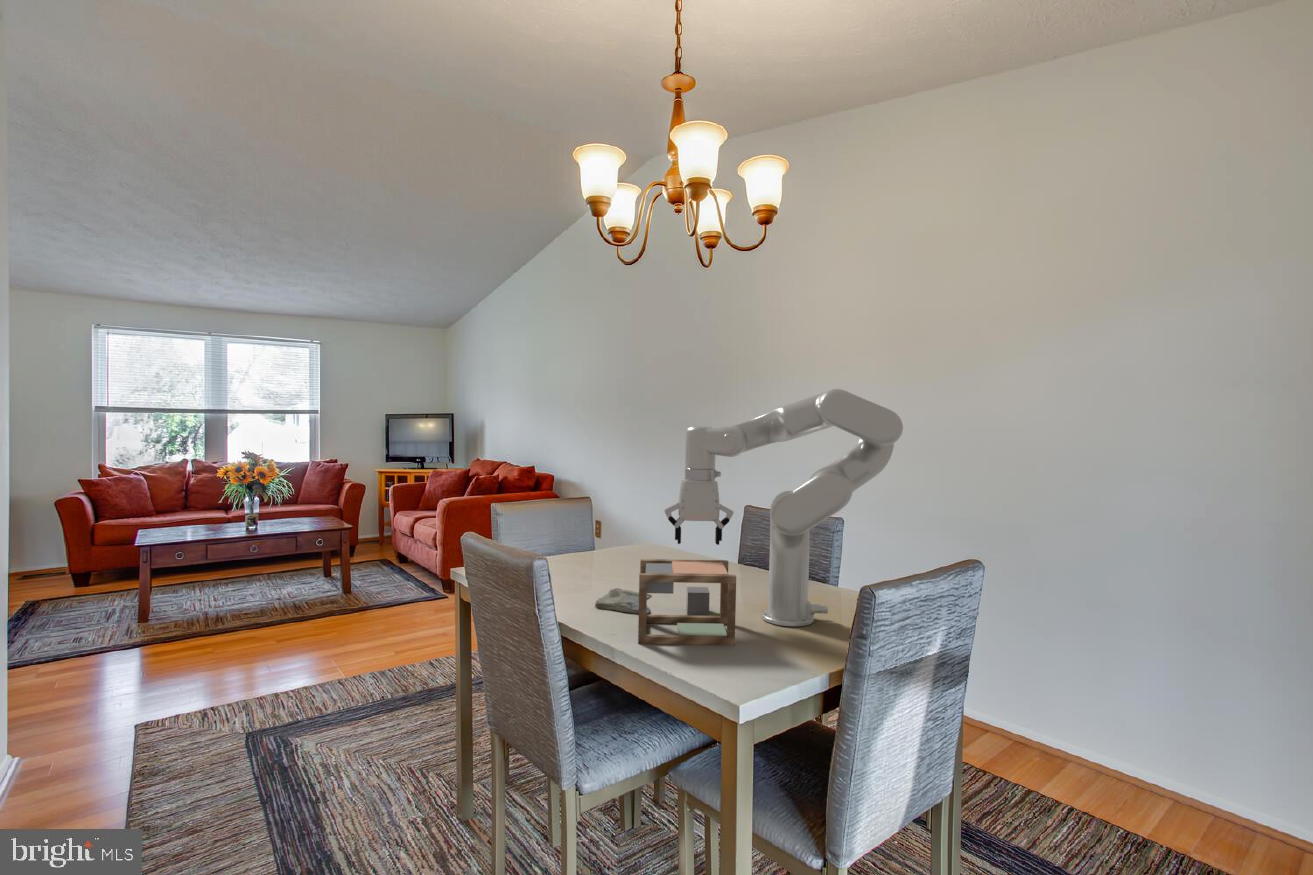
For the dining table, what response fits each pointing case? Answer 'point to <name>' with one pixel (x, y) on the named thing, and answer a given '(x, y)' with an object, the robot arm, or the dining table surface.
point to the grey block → (697, 601)
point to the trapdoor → (680, 572)
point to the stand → (725, 615)
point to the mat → (701, 629)
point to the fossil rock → (621, 601)
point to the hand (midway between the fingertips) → (698, 543)
